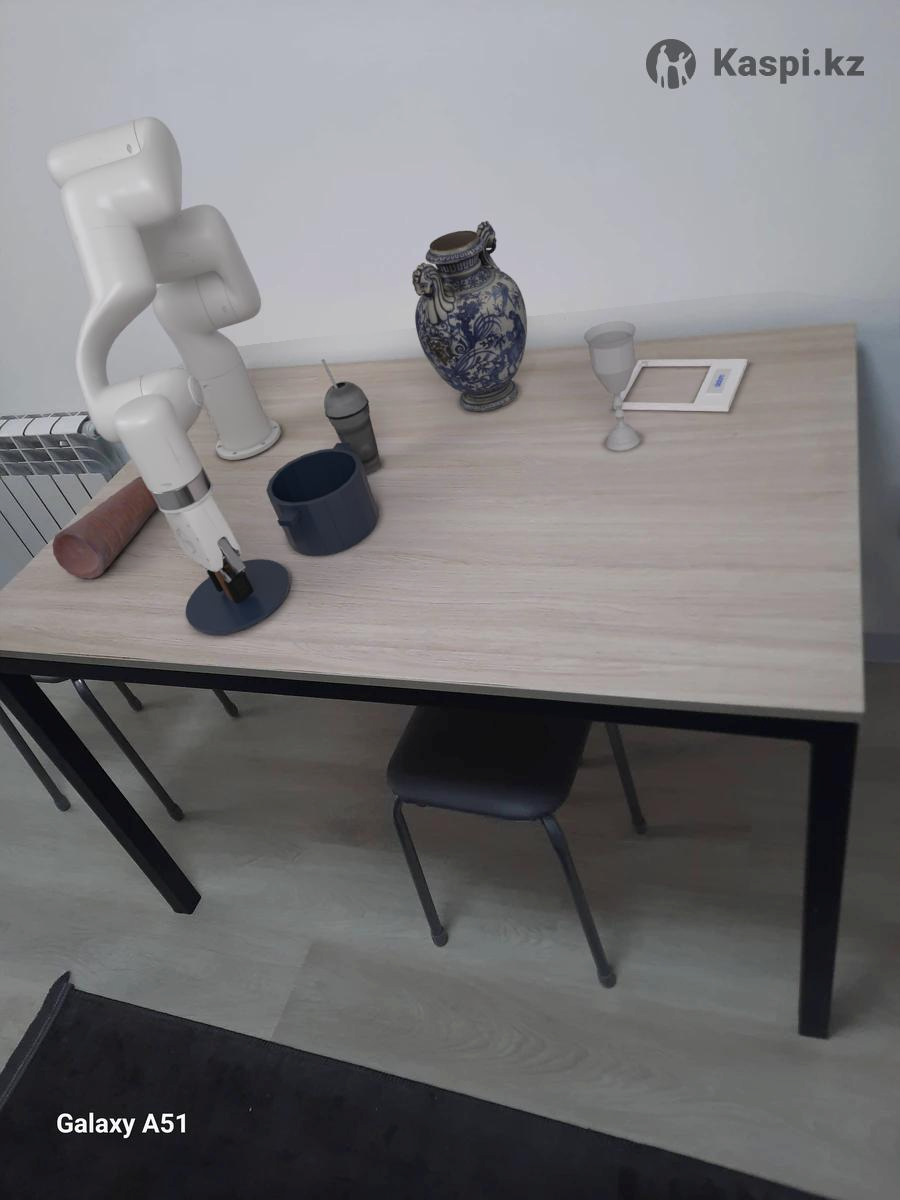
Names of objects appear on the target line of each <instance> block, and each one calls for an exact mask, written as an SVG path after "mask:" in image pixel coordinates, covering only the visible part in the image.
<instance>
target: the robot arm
mask: <svg viewBox="0 0 900 1200" xmlns="http://www.w3.org/2000/svg"><path fill="white" fill-rule="evenodd" d="M181 157H182V156H181V152H180V149H179V147H178V142H177V141H176V139H175V137H174V135H173V133H172V132H171V130H170V129H169V127H168V126H167V125H166V124H165V122H163V121H162V120H161V119H159V118H157V117H154V116H145V117H139V118H136V119H133V120H129V121H126V122H123V123H120V124H116V125H113V126H109V127H106V128H103V129H99V130H94V131H92V132H88V133H85V134H81V135H79V136H76V137H72V138H69V139H66V140H63V141H60V142H58V143H56V144H54V145H53V146H52V147H51V148H50V149H49V151H48V152H47V154H46V157H45V164H46V168H47V171H48V172H47V173H48V175H49V176H50V179H52V181H53V183H54V184H55V185H56V186H57V188H58V189H59V190H60V192H59V203H60V207H61V211H62V214H63V217H64V220H65V223H66V226H67V230H68V233H69V236H70V240H71V243H72V245H73V249H74V253H75V255H76V258H77V259H76V260H77V261H78V265H79V268H80V271H81V275H82V278H83V281H84V284H85V287H86V290H87V294H88V297H89V305H88V308H87V311H86V312H85V313H86V314H85V315H84V318H83V320H82V322H81V325H80V328H79V332H78V334H77V340H76V347H75V355H74V364H75V373H76V378H77V381H78V384H79V388H80V391H81V394H82V397H83V400H84V403H85V407H86V410H87V412H88V415H89V418H90V420H91V422H92V425H93V427H94V428H95V430H96V431H97V433H98V434H99V435H100V436H101V438H103V439H104V440H105V441H107V442H109V443H111V444H122V445H123V447H124V449H125V450H126V452H127V455H128V456H129V458H130V459H131V461H132V463H133V465H134V467H135V468H136V470H137V472H138V473H139V475H140V476H141V477H142V479H143V481H144V483H145V484H146V486H147V488H148V490H149V492H150V493H151V495H152V497H153V499H154V501H155V502H156V504H157V506H158V507H157V508H158V509H159V511H160V512H162V513H163V515H164V517H165V519H166V521H167V524H168V526H169V528H170V529H171V532H172V533H173V536H174V537H175V540H176V542H177V544H178V545H179V546H178V547H179V548H180V550H181V551H182V552H183V554H185V555H186V556H187V557H188V558H190V559H191V560H192V561H194V562H196V563H197V564H199V565H200V566H202V567H203V568H204V569H205V570H206V573H207V575H208V577H210V579H211V581H212V582H213V584H214V586H215V588H216V590H217V591H219V592H222V591H223V588H222V586H221V584H220V582H219V580H218V578H217V577H216V575H215V573H214V572H218V571H220V572H221V574H222V576H223V577H224V579H225V580H226V581H224V584H225V586H226V588H227V590H228V592H229V593H230V595H231V597H232V599H233V601H234V602H235V603H239V602H241V601H242V600H243V599H245V598H246V597H247V596H249V595H250V594H251V593H253V591H254V590H253V588H252V586H251V584H250V582H249V580H248V578H247V576H246V574H245V571H244V569H245V568H246V567H245V565H244V564H243V563H242V560H241V558H240V557H241V555H242V548H241V546H240V543H239V541H238V539H237V537H236V535H235V533H234V530H233V529H232V527H231V525H230V523H229V521H228V520H227V519H226V517H225V515H224V513H223V512H222V510H221V508H220V506H219V505H218V503H217V501H216V500H215V498H214V497H213V495H212V492H213V489H214V486H213V483H212V481H211V480H210V477H209V475H208V473H207V472H206V469H205V467H204V466H203V463H202V462H201V460H200V457H199V455H198V453H197V452H196V449H195V448H194V445H193V444H192V441H191V440H190V438H189V435H188V432H189V431H190V429H191V428H192V427H193V426H194V424H195V423H196V422H197V420H198V418H199V417H200V414H201V412H202V409H203V406H204V408H205V410H206V412H207V414H208V416H209V418H210V420H211V423H212V425H213V426H214V429H215V431H216V433H217V435H218V437H219V439H218V440H217V442H216V444H215V451H216V453H217V456H219V457H220V458H222V459H223V460H228V461H238V460H245V459H249V458H251V457H252V458H253V457H254V456H256V455H259V454H261V453H263V452H265V451H267V450H269V449H270V448H271V447H272V446H273V445H274V444H275V443H277V441H278V440H279V438H280V437H281V434H282V429H281V427H280V424H279V423H278V422H277V421H275V420H273V419H270V418H269V419H268V416H267V415H266V414H267V413H266V412H265V410H264V408H263V404H262V402H261V400H260V398H259V395H258V393H257V391H256V389H255V386H254V384H253V382H252V379H251V377H250V375H249V371H248V369H247V367H246V364H245V363H244V360H243V358H242V355H241V353H240V351H239V348H238V347H237V345H236V344H235V343H234V342H233V341H232V340H231V339H230V338H229V337H228V336H226V335H224V334H223V333H221V332H220V331H219V330H220V329H223V328H227V327H231V326H234V325H237V324H241V323H244V322H246V321H249V320H251V319H254V318H255V317H256V316H257V315H258V314H259V313H260V312H261V308H262V300H261V294H260V291H259V288H258V286H257V285H258V284H257V283H256V281H255V278H254V275H253V273H252V272H251V270H250V267H249V265H248V263H247V260H246V258H245V257H244V254H243V252H242V250H241V248H240V246H239V244H238V241H237V239H236V237H235V234H234V232H233V230H232V227H231V226H230V224H229V222H228V220H227V219H226V217H225V215H224V214H223V213H222V212H221V211H220V210H219V209H218V208H216V206H214V205H212V204H211V205H210V204H198V205H193V206H190V207H187V208H183V209H182V203H183V165H182V164H183V163H182V158H181ZM157 285H158V287H157ZM150 305H151V306H152V310H153V313H154V315H155V317H156V320H157V321H158V323H159V325H160V326H161V327H162V329H163V330H164V332H165V333H166V335H167V336H168V338H169V339H170V340H171V342H172V344H173V345H174V347H175V349H176V350H177V352H178V354H179V355H180V358H181V360H182V361H183V362H182V363H184V365H185V368H183V367H176V366H175V367H174V366H173V367H167V368H164V369H159V370H156V371H153V372H151V373H146V374H141V375H139V376H135V377H131V378H128V379H125V380H122V381H118V382H115V383H112V384H110V383H109V379H108V374H107V373H108V372H107V362H108V357H109V353H110V350H111V348H112V347H113V344H114V343H115V341H116V340H117V338H118V337H119V336H120V334H121V333H122V332H123V331H124V330H125V329H126V328H127V327H128V326H129V325H130V324H131V323H132V322H133V321H134V320H135V319H136V318H137V317H139V316H140V315H141V314H142V313H143V312H144V311H145V310H146V309H148V307H149V306H150ZM227 564H230V565H231V568H230V569H228V572H227V571H226V569H225V567H224V566H226V565H227Z"/></svg>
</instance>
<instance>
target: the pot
mask: <svg viewBox="0 0 900 1200" xmlns="http://www.w3.org/2000/svg"><path fill="white" fill-rule="evenodd" d="M351 448H352V447H351V445H350V443H341V442H336V444H335V445H334V446H333V447H332V448H324V449H319V450H315V451H311V452H308V453H305V454H302V455H301V456H299V457H296V458H294V459H292V460H290V461H288V462H287V463H286V464H284V465H283V466H282V467H280V468H278V469H277V470H276V472H275V473H274V474H273V475H272V476H271V477H270V478H269V480H268V484H267V487H266V489H265V490H266V491H265V492H266V494H267V496H268V500H269V502H270V504H271V506H272V508H273V510H274V512H275V515H276V517H277V524H278V526H279V527H281V528H282V530H283V532H284V534H285V537H286V539H287V541H288V543H289V546H290V547H291V548H292V549H293V550H294V551H295V552H296V553H298V554H300V555H303V556H308V557H325V556H331V555H334V554H338V553H342V552H344V551H346V550H349V549H351V548H353V547H355V546H356V545H358V544H360V543H361V542H362V541H364V540H365V539H366V538H367V537H368V536H370V534H372V532H373V531H374V530H375V528H376V526H377V524H378V523H379V519H380V513H379V507H378V505H377V502H376V499H375V496H374V494H373V491H372V488H371V485H370V482H369V480H368V477H367V474H366V473H365V471H364V468H363V465H362V462H361V460H360V459H359V457H358V455H357V454H355V453H353V452H351V451H350V449H351Z"/></svg>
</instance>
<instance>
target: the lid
mask: <svg viewBox="0 0 900 1200" xmlns="http://www.w3.org/2000/svg"><path fill="white" fill-rule="evenodd" d="M241 561H242V560H241ZM242 563H243V564H244V565H245V567H246V568H245V569H244V571H245V574H246V576H247V578H248V580H249V582H250V584H251V586H252V588H253V590H254V591H253V593H251V594H250V595H249V596H247V597H246V598H245V599H243V600H242V601H241V602H239V603H235V602H234V601H233V599H232V597H231V595H230V593H229V592H228V590H227V588H226V586H225V584H224V581H226V580H225V579H224V577H223V576H222V574H221V572H220V571H218V572H214V573H215V575H216V577H217V578H218V580H219V582H220V584H221V586H222V588H223V591H222V592H219V591H217V590H216V588H215V586H214V584H213V582H212V581H211V579H210V577H209V576H208V577H207V578H206V579H204V581H202V582H201V583H200V584H199V585H197V587H196V588H195V589H194V591H193V592H192V594H191V595H190V596H189V599H188V601H187V603H186V607H185V617H186V619H187V622H188V624H189V625H190V626H191V627H192V628H193V629H194V630H195V631H198V632H199V633H203V634H206V635H215V636H216V635H217V636H219V635H227V634H231V633H236V632H239V631H242V630H245V629H247V628H249V627H252V626H254V625H256V624H258V623H259V622H261V621H263V620H264V619H266V618H267V617H268V616H270V615H271V614H272V613H273V612H274V611H275V610H276V609H277V608H278V607H279V606H280V605H281V604H282V603H283V601H284V600H285V598H286V597H287V594H288V592H289V589H290V586H291V585H290V583H291V580H290V575H289V573H288V571H287V569H286V568H285V567H284V566H283V565H282V564H280V563H279V562H277V561H274V560H271V559H265V558H255V559H248V560H243V561H242ZM224 567H225V569H226V571H227V572H228V569H230V568H231V565H230V564H227V565H226V566H224Z"/></svg>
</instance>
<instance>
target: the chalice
mask: <svg viewBox="0 0 900 1200" xmlns="http://www.w3.org/2000/svg"><path fill="white" fill-rule="evenodd" d="M636 330H637V327H636V325H635V324H633V323H631V322H629V321H623V320H621V321H620V320H619V321H618V320H615V321H607V322H603V323H599V324H597V325H594V326H591V327H590V328H589V329H587V330H586V331H585V333H583V334H584V335H583V338H584V340H585V342H586V343H587V345H588V351H589V357H590V358H589V359H590V365H591V369H592V371H593V373H594V375H595V376H596V378H597V381H599V383H600V384H601V385H602V386H603V388H604V389H605V391H606V392H607V393H609V394H613V402H612V405H613V407H614V406H615V408H616V409H615V412H614V413H613V416H614V417H615V418H616V419H615V420H616V421H617V422H616V424H615V425H614V426H612V428H611V429H610V430H609V434H608V437H607V440H606V443H605V444H606V447H607V448H608V449H610V450H613V451H616V452H617V451H620V452H621V451H627V450H631V449H633V448H635V447H636V446H637V445H638V444H639V443H640V440H641V438H640V436H639V435H638V434H637V431H636V430H635V429H634V427H633V426H632V425H630V424H628V423H625V420H624V418H625V416H626V415H627V412H626V411H624V409H622V405H623V403H624V402H625V401H624V400H622V399H621V396H620V395H621V392H622V391H624V390H625V389H626V388H627V385H628V383H629V380H630V378H631V376H632V372H633V370H634V368H635V366H636V365H635V364H636V354H635V345H634V336H635V333H636Z"/></svg>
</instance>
